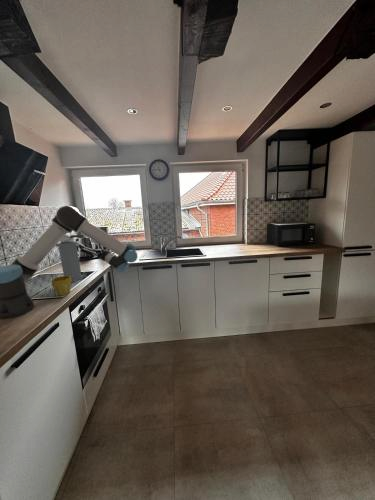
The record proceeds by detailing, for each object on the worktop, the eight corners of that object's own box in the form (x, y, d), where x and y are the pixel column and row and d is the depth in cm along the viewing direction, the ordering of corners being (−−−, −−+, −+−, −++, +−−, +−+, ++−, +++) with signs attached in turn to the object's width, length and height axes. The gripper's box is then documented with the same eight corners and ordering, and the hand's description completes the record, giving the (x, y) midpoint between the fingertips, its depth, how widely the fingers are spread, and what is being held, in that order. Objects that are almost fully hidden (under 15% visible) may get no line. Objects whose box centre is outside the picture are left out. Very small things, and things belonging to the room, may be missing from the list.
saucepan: (87, 241, 147) (86, 234, 146) (79, 243, 138) (78, 235, 137) (66, 241, 149) (65, 234, 148) (57, 243, 141) (56, 236, 140)
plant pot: (51, 298, 118) (48, 282, 116) (57, 291, 128) (54, 276, 126) (70, 295, 121) (68, 279, 119) (75, 289, 131) (72, 274, 129)
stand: (84, 277, 153) (78, 241, 147) (72, 282, 144) (66, 243, 138) (74, 277, 156) (67, 241, 151) (62, 281, 147) (55, 243, 141)
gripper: (92, 266, 125) (67, 249, 129) (118, 257, 148) (96, 242, 152) (95, 256, 123) (70, 239, 127) (121, 248, 146) (99, 234, 150)
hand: (84, 241), depth 140 cm, fingers open, 13 cm apart
